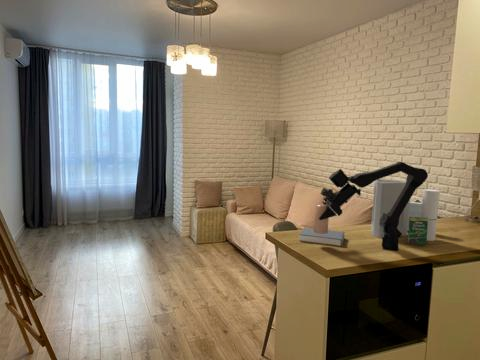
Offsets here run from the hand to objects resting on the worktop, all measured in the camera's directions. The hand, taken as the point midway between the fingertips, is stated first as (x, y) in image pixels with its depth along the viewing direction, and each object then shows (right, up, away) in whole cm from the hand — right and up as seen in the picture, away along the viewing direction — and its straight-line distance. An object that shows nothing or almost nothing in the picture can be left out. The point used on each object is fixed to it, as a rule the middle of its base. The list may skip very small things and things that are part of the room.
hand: (318, 217), depth 165 cm
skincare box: (+57, -11, +34) cm, 67 cm away
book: (+4, -12, +11) cm, 17 cm away
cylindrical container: (+59, -13, +17) cm, 63 cm away
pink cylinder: (+1, -7, +1) cm, 7 cm away
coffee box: (+49, -14, +8) cm, 51 cm away
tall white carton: (+40, -11, +27) cm, 50 cm away
